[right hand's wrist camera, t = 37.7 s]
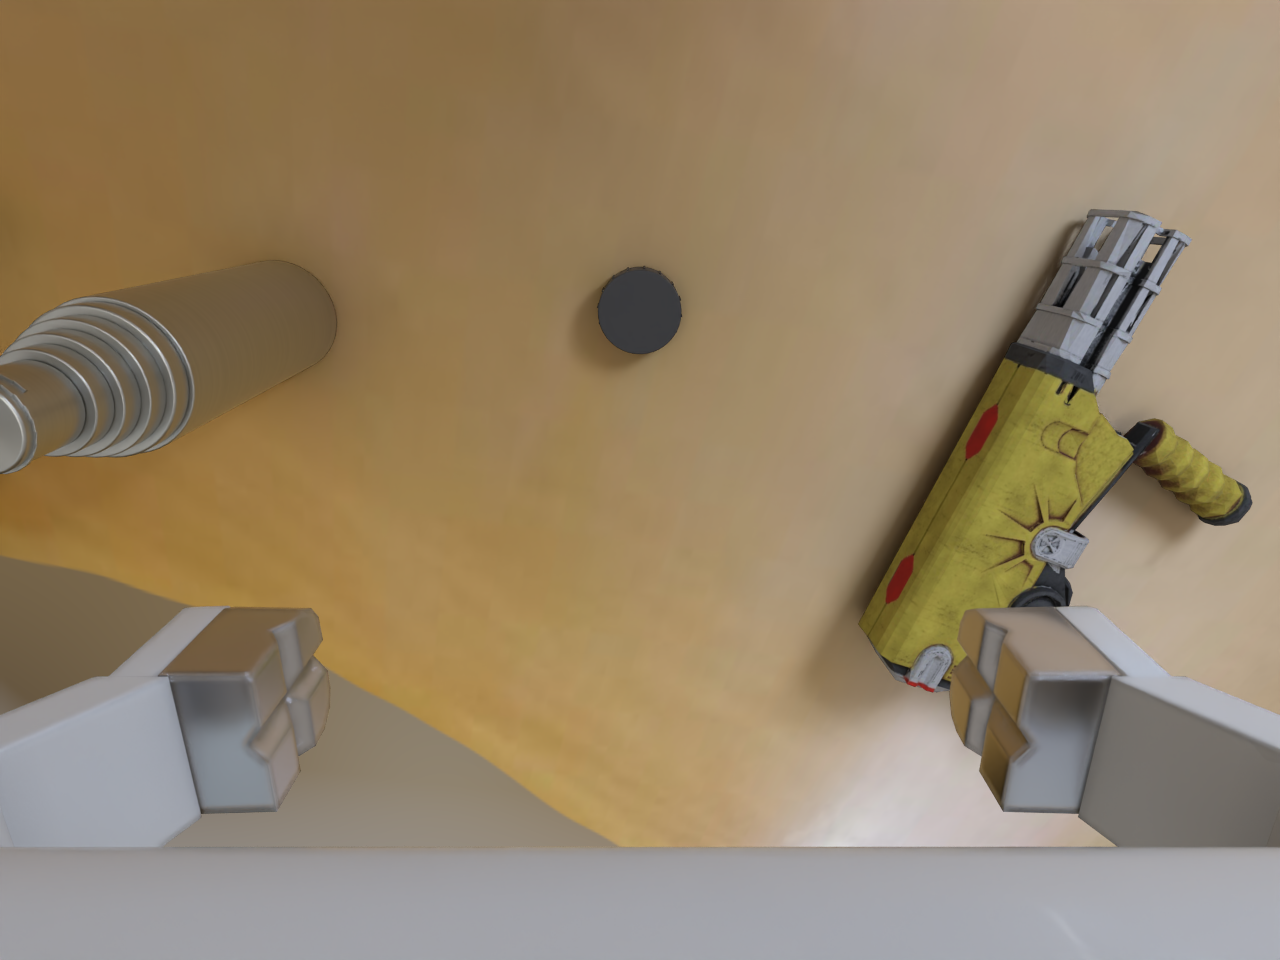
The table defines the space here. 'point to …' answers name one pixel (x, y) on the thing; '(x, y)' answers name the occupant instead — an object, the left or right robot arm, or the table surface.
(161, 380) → the bottle
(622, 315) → the cap
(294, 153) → the table surface
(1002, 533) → the toy gun
